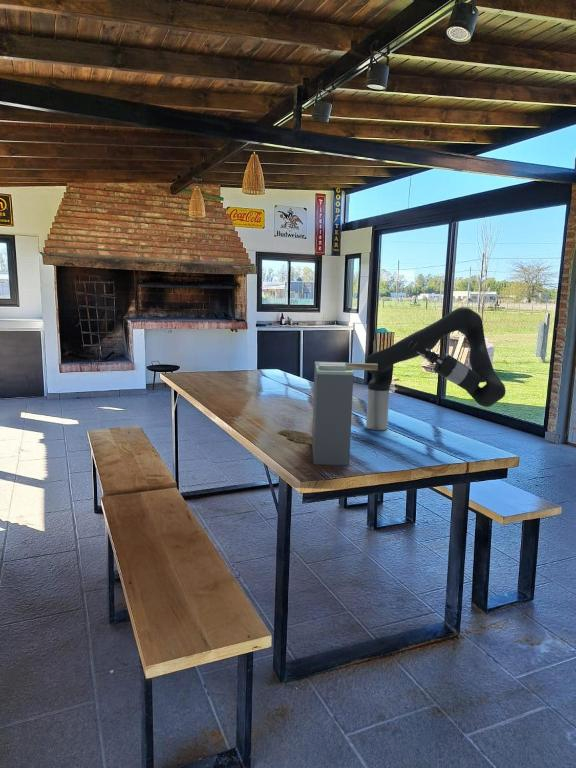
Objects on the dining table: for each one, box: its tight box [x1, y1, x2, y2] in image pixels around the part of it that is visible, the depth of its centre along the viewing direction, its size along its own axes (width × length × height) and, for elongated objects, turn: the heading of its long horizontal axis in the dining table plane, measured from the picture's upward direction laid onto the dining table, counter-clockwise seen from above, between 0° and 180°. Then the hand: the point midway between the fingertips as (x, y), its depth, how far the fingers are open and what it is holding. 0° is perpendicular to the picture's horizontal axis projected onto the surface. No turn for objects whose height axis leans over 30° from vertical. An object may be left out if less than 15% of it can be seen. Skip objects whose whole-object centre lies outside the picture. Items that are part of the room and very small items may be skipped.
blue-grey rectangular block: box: [311, 361, 354, 466], centre depth 196 cm, size 26×12×32 cm, turn 179°
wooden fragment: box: [277, 428, 312, 446], centre depth 219 cm, size 26×11×1 cm, turn 25°
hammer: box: [319, 362, 378, 371], centre depth 187 cm, size 8×20×2 cm, turn 89°
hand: (412, 344), depth 188 cm, fingers open, 8 cm apart
